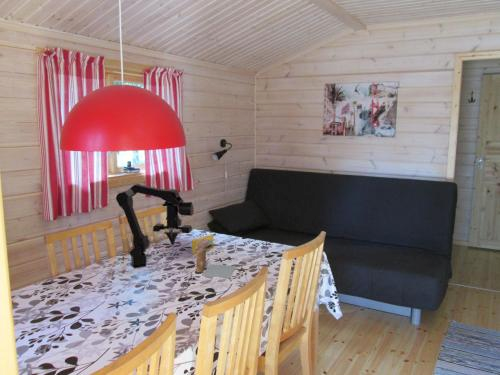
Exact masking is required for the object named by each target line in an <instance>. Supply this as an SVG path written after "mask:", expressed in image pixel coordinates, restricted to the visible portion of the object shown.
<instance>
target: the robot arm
mask: <svg viewBox="0 0 500 375" xmlns="http://www.w3.org/2000/svg"><path fill="white" fill-rule="evenodd" d="M138 193H139V194H143V195H147V196H150V197H151V196H152V197H157V198H158V199H159V198H160V199H161V200H163V201H165V202H164V203H163V204H162V205H161V206H162V207H166V217H165V220H166V225H165V224H164V223H156V224H155V225H153V226H152V227H153V228H152V231H153V232H154V233H155V232H156V233H157V232H160V231H161V230H164V232H163V234H164V235H166V237H167V238H168V239H169V242H170V244H171V246H174V245H175V242H176V239H177V237H178V235H179V234H180V233H182V234H190V233H191V232H192V231H193V226H192V225H189V224H188V225H187V224H184V225H182V223H183V222H182V221H183V220H182V219H181V218H180V216H187V217H189V216H190V217H191V216H193V215H194V212H195V211H194V210H195V209H194V208H195V207H194V204H193V202H192V201H184V200H183V198H182V197H181V196H180V192H179V190H178V189H176V188H165V189H164V188H158V187H154V186H153V187H152V186H149V185H144V184H140V183H136V184H133V185H132V186H131V187H129V188H128V189H126V190H124V191H122V192H121V191H120V192H119V193H117V194H116V197H115V200H116V202H117V204H118V206H119V207H120V208H121V209H122V210H123V212H124V215H125V219H126V221H127V223H128V227H129V228H130V232H131V234H132V245H133V248H132V249H131V250H130V251H129V255H130V257H131V259H130V260H131V263H130V266H132V267H133V269H136V268H137V269H138V268H142V267H147V256H146V253H145V252H146V251H147V249H149V247H150V242H151V241H150V239H149V237H148V234H144V233H143V231H142V229H141V227H140V224H139V220H138V218H137V215H136V212H135V209H134V207H133V206H134V200H133V197H134V196H135V195H137V194H138ZM179 215H180V216H179Z"/></svg>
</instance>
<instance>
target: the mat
mask: <svg viewBox="0 0 500 375" xmlns="http://www.w3.org/2000/svg"><path fill="white" fill-rule="evenodd" d="M236 268H237V265H228V264H226V265H225V264H224V265H223V264H208V266H207V267H206V268H205V270H204V271H203V272H202V275H201V276H202V277H203V276H205V277H217V278H231V277H232V275H233V273H234V271H235V270H236Z"/></svg>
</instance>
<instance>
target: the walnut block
mask: <svg viewBox="0 0 500 375" xmlns="http://www.w3.org/2000/svg"><path fill="white" fill-rule="evenodd" d="M206 269H207V250H206V249H199V250H198V252H197V254H196V273H204V272H205V270H206Z"/></svg>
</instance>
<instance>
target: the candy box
mask: <svg viewBox="0 0 500 375" xmlns="http://www.w3.org/2000/svg"><path fill="white" fill-rule="evenodd" d="M191 242H192V244H191V255H197V252H198V250H199V249H206V251H208V250H212V249H214V234H208V235H205V236H201V237H199V238H195V239H192V241H191Z"/></svg>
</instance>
